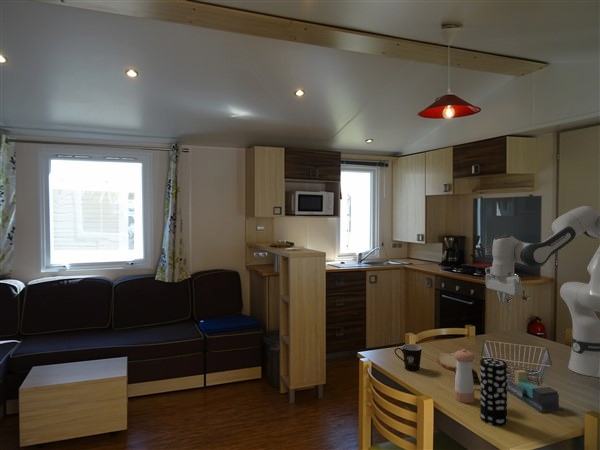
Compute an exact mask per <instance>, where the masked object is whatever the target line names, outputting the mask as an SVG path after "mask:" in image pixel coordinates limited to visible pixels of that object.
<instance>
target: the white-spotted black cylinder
mask: <svg viewBox="0 0 600 450" xmlns="http://www.w3.org/2000/svg"><path fill="white" fill-rule="evenodd" d="M479 362H480V363H479V364H480V365H479V367H480V369H479V371H480V372H479V373H480V377H479V380H480V384H479V385H480V390H479V391H480V392H479V394H480V395H479V396H480V398H479V400H480V402H479V403H480V405H479V407H480V412H479V414H480V415H479V417H480V420H481V421H482V422H484V423H485V424H487V425H489V426H494V427H495V426H496V427H503V426H506V425H507V424H508V391H507V381H508V363H507V362H506V361H504V360H502V359H499V358H493V357H484V358H481V359H480V360H479Z"/></svg>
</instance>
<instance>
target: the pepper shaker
mask: <svg viewBox="0 0 600 450" xmlns="http://www.w3.org/2000/svg"><path fill="white" fill-rule="evenodd" d="M454 353H455V355H454V357H455V359H456V360H457V370H456V376H455V375H454V387H453V398H454V400H455V401H457V402H459V401H460V402H459V403H462V402H463V403H464V404H471V403H474V402H475V390H474V379H473V376H472V368H473V361H474V359H475V355H474V354H473V352H470V351H469V350H467V349H465V348H462V349H460V350H456V352H454ZM463 403H462V404H463Z"/></svg>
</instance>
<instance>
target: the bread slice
mask: <svg viewBox="0 0 600 450" xmlns="http://www.w3.org/2000/svg"><path fill="white" fill-rule="evenodd" d="M455 353H456V352H451V353H450V352H449V353H448V352H444V351H441V352H440V353H438V355H437V358H436V359H437V360H436V361H437V362H436V363H438V364H439V366H440V367H442V368H443V369H444V370H448V371H450V372H454V373H455V369H456V368H457V360H456V359H455V357H454V355H455Z"/></svg>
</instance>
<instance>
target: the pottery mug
mask: <svg viewBox="0 0 600 450" xmlns="http://www.w3.org/2000/svg"><path fill="white" fill-rule="evenodd" d="M456 370H457V368H456V369H455V372H454V377H455V376H456ZM472 376H473V381H477V382H478V385H480V377H479V375H478V372H477V371H476V370H475V369H474V368H473V367H472Z"/></svg>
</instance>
